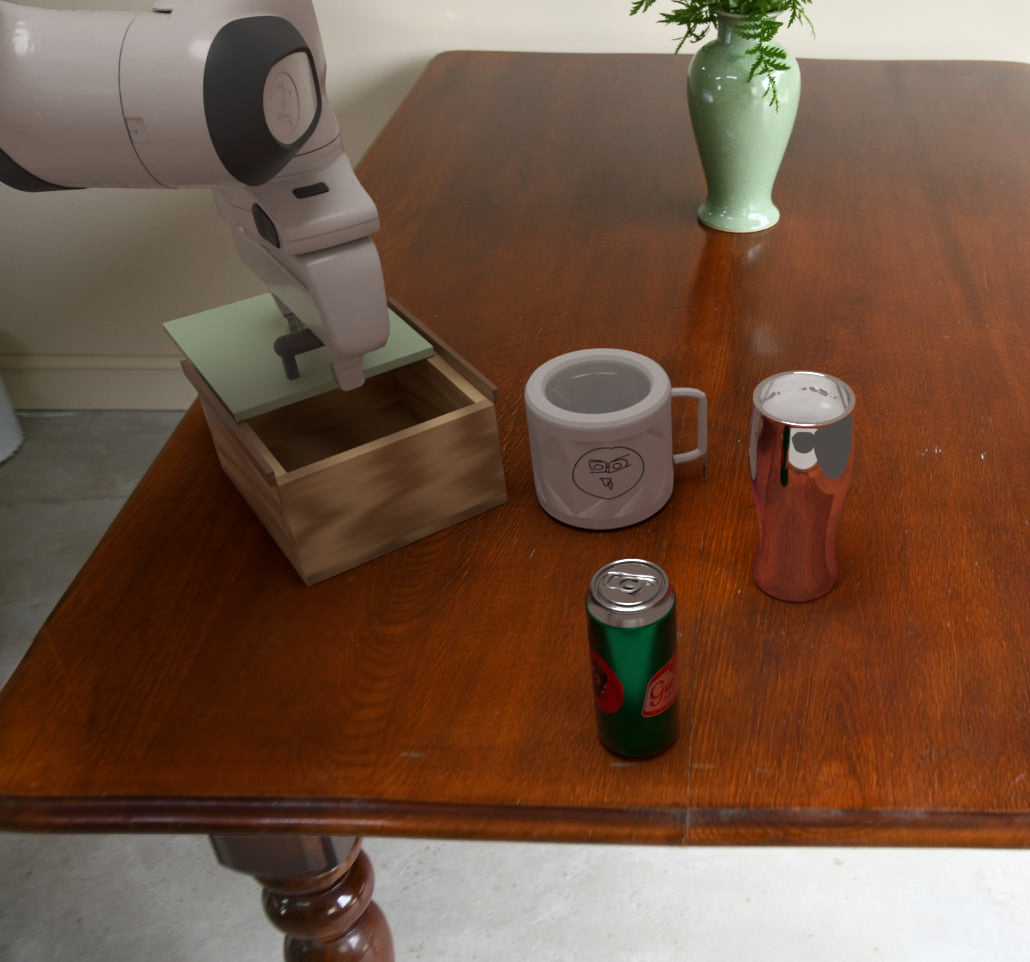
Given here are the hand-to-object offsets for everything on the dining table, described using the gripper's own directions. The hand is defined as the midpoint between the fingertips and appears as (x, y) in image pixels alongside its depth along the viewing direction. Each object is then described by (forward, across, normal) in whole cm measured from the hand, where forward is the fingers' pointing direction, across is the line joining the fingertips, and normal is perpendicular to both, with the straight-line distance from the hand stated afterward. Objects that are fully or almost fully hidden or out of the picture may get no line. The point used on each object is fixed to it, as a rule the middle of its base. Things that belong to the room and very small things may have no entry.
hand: (324, 358), depth 84 cm
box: (+11, +2, 0) cm, 11 cm away
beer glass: (+11, +31, +20) cm, 38 cm away
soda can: (+11, +36, +3) cm, 38 cm away
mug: (+11, +15, +16) cm, 24 cm away
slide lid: (+2, -6, 0) cm, 6 cm away
